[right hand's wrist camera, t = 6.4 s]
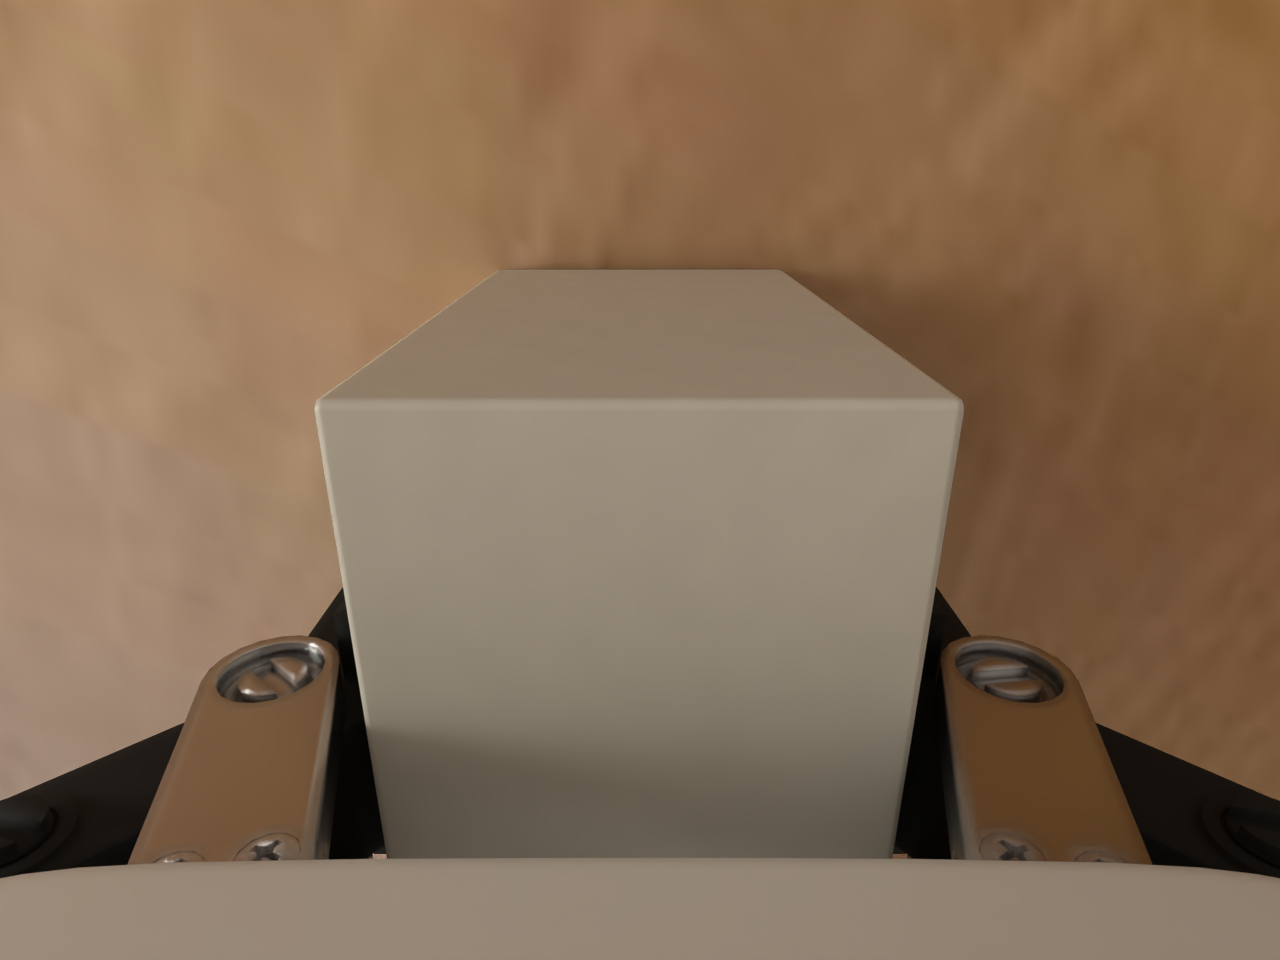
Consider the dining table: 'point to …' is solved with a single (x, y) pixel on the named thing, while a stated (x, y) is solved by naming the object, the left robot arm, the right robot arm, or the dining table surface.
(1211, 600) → the dining table surface
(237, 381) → the dining table surface
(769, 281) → the beam
